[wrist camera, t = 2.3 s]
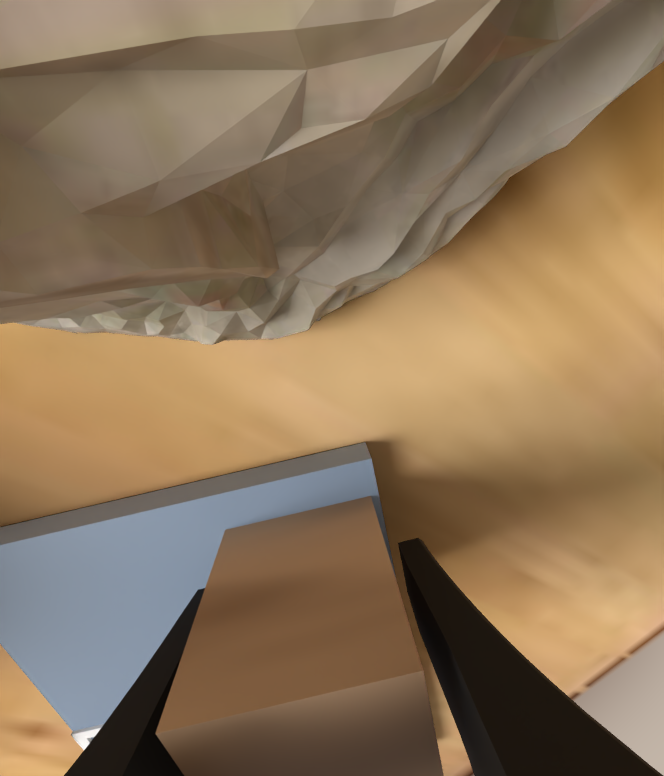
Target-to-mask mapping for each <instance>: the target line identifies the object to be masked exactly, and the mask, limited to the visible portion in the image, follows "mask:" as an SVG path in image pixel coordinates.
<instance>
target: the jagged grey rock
mask: <svg viewBox="0 0 664 776" xmlns="http://www.w3.org/2000/svg"><path fill="white" fill-rule="evenodd" d="M663 61H664V0H0V324H4V323H18V324H23V325H29V326H35V327H42V328H49V329H56V330H64V331H69V332H74V333H76V332H81V333H97V332H109V333H119V334H128V335H137V336H159V337H167V338H174V339H183V340H190V341H199V342H200V343H201V344H212V345H213V344H216V343H218V342H221V341H224V340H254V339H274V338H281V337H284V336H288V335H292V334H295V333H299V332H303V331H306V330H309V328H310V327H311V326H312V324H313V323H314V321H319V320H320V319H321V317H322V316H324V315H326V314H328V313H330V312H332V311H334V310H336V309H338V308H339V307H341V306H342V305H343V304H344V303H346V302H348V301H350V300H352V299H354V298H357V297H360V296H362V295H364V294H367V293H370V292H373V291H375V290H377V289H378V288H380V287H382V286H383V285H385V284H387V283H388V282H390V281H391V280H392V279H396V278H399V277H400V276H402V275H403V274H405V273H406V272H408V271H410V270H411V269H413V268H414V267H416V266H417V265H419V264H420V263H422V262H423V261H425V260H426V259H428V258H429V256H431V255H432V254H433V253H435V252H436V251H438V250H439V249H440V248H442V247H443V246H444V245H446V244H447V243H449V242H450V241H451V239H452V238H453V237H454V236H455V235H456V234H457V233H458V232H459V231H460V230H461V229H462V227H463V226H464V225H465V224H466V223H467V222H468V221H469V220H470V219H471V218H472V217H473V216H474V215H475V214H476V213H477V212H478V211H479V210H480V209H481V208H483V207H484V206H485V205H486V204H487V203H488V202H489V201H490V200H491V199H492V198H493V197H494V196H495V195H496V194H497V193H498V192H499V191H500V189H501V188H502V187H503V186H504V185H505V184H506V182H507V181H508V179H509V177H511V176H513V175H514V174H516V173H517V172H519V171H521V170H522V169H524V168H526V167H527V166H529V165H530V164H532V163H534V162H535V161H537V160H539V159H540V158H542V157H543V156H544V155H546V154H549V153H551V152H554V151H556V150H559V149H561V148H564V147H566V146H567V145H568V144H569V143H570V142H571V141H572V140H573V139H574V138H575V137H576V136H577V135H578V134H579V133H580V132H581V131H582V130H583V129H584V128H585V127H586V126H587V125H588V124H589V123H590V122H591V121H592V120H593V119H594V118H595V117H596V116H597V115H598V114H599V113H600V112H601V111H602V110H603V109H604V108H605V107H606V106H608V105H609V104H610V103H611V102H613V101H614V100H615V99H616V98H618V97H619V96H620V95H621V94H623V93H624V92H625V91H626V90H628V89H629V88H630V87H631V86H633V85H634V84H635V83H636V82H638V81H639V80H640V79H641V78H643V77H644V76H645V75H646V74H648V73H649V72H650V71H652V70H653V69H654V68H655V67H657V66H658V65H659V64H660V63H662V62H663Z"/></svg>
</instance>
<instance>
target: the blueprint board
mask: <svg viewBox="0 0 664 776" xmlns="http://www.w3.org/2000/svg"><path fill="white" fill-rule="evenodd" d="M367 496H371V498H372V502H373V505H374V508H375V512H376V515H377V518H378V522H379V525H380V528H381V532H382V535H383V538H384V542H385V545H386V548H387V551H388V555H389V558H390V561H391V565H392V568H393V571H394V566H393V561H392V556H391V551H390V546H389V541H388V537H387V532H386V527H385V522H384V517H383V512H382V507H381V502H380V497H379V493H378V488H377V483H376V478H375V473H374V468H373V463H372V458H371V456H370V453H369V450H368V448H367V445H366V442H364V443H359V444H355V445H351V446H347V447H342V448H338V449H334V450H329V451H325V452H321V453H317V454H312V455H308V456H304V457H299V458H295V459H291V460H287V461H282V462H278V463H274V464H269V465H265V466H261V467H257V468H252V469H248V470H244V471H240V472H235V473H231V474H227V475H222V476H218V477H214V478H210V479H205V480H201V481H197V482H192V483H188V484H184V485H180V486H175V487H171V488H167V489H162V490H158V491H154V492H150V493H145V494H141V495H137V496H132V497H128V498H124V499H120V500H115V501H111V502H107V503H102V504H98V505H94V506H90V507H85V508H81V509H77V510H72V511H68V512H64V513H60V514H55V515H51V516H47V517H42V518H38V519H34V520H30V521H25V522H21V523H17V524H12V525H8V526H4V527H0V644H1V645H2V647H3V648H4V649H5V650H6V651H7V653H8V654H9V655H10V656H11V657H12V659H13V660H14V661H15V662H16V663H17V665H18V666H19V667H20V668H21V669H22V671H23V672H24V673H25V674H26V675H27V677H28V678H29V679H30V680H31V681H32V683H33V684H34V685H35V686H36V687H37V689H38V690H39V691H40V692H41V694H42V695H43V696H44V697H45V698H46V700H47V701H48V702H49V703H50V704H51V706H52V707H53V708H54V709H55V710H56V712H57V713H58V714H59V715H60V716H61V718H62V719H63V720H64V721H65V722H66V724H67V725H68V726H69V727H70V728H71V730H72V731H73V732H72V734H71V736H72V737H73V738H74V739H75V740H76V742H77V743H78V744H79V745H80V746H81V748H82V749H83V750H85V749H86V747H87V746H88V745H89V744H90V742H91V741H92V740H93V738H94V737H95V736H96V734H97V733H98V732H99V730H100V729H101V728H102V726H103V725H104V724H105V722H106V721H107V719H108V718H109V717H110V715H111V714H112V713H113V711H114V710H115V709H116V707H117V706H118V704H119V703H120V702H121V700H122V699H123V698H124V696H125V695H126V693H127V692H128V691H129V689H130V688H131V687H132V685H133V684H134V682H135V681H136V680H137V678H138V677H139V675H140V674H141V672H142V671H143V670H144V668H145V667H146V665H147V664H148V662H149V661H150V659H151V658H152V657H153V655H154V654H155V652H156V651H157V649H158V648H159V646H160V645H161V643H162V642H163V640H164V639H165V637H166V636H167V634H168V633H169V632H170V630H171V629H172V627H173V626H174V624H175V623H176V621H177V620H178V618H179V617H180V615H181V614H182V612H183V611H184V609H185V608H186V606H187V605H188V603H189V602H190V600H191V599H192V597H193V596H194V595H195V593H196V592H197V590H199V589H203V588H205V587H206V584H207V581H208V578H209V575H210V573H211V570H212V567H213V564H214V561H215V558H216V555H217V552H218V549H219V546H220V543H221V540H222V537H223V535H224V532H225V530H226V529H231V528H235V527H239V526H243V525H248V524H252V523H256V522H260V521H265V520H269V519H273V518H278V517H282V516H286V515H290V514H295V513H299V512H303V511H308V510H312V509H316V508H320V507H325V506H329V505H333V504H337V503H342V502H346V501H350V500H355V499H359V498H363V497H367ZM394 575H395V571H394ZM395 578H396V576H395Z"/></svg>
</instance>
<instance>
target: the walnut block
mask: <svg viewBox="0 0 664 776" xmlns="http://www.w3.org/2000/svg"><path fill="white" fill-rule="evenodd" d="M155 734H156V735H157V737H158V738H159V740H160V741H161V743H162V744H163V745H164V747H165V748H166V750H167V751H168V753H169V754H170V756H171V757H172V759H173V760H174V761H175V763H176V764H177V766H178V767H179V769H180V770H181V772H182V773H183V774H184V776H443V770H442V765H441V760H440V755H439V749H438V744H437V739H436V734H435V729H434V723H433V718H432V713H431V708H430V702H429V697H428V692H427V687H426V681H425V676H424V671H423V667H422V664H421V661H420V658H419V654H418V651H417V648H416V644H415V641H414V638H413V634H412V631H411V628H410V624H409V621H408V618H407V614H406V611H405V608H404V604H403V601H402V598H401V595H400V591H399V588H398V585H397V581H396V578H395V575H394V571H393V568H392V565H391V561H390V558H389V555H388V551H387V548H386V545H385V542H384V538H383V535H382V532H381V528H380V525H379V522H378V518H377V515H376V512H375V508H374V505H373V502H372V498H371V496H367V497H363V498H359V499H355V500H350V501H346V502H342V503H337V504H333V505H329V506H325V507H320V508H316V509H312V510H308V511H303V512H299V513H295V514H290V515H286V516H282V517H278V518H273V519H269V520H265V521H260V522H256V523H252V524H248V525H243V526H239V527H235V528H231V529H226V530H225V532H224V535H223V537H222V540H221V543H220V546H219V549H218V552H217V555H216V558H215V561H214V564H213V567H212V570H211V573H210V575H209V578H208V581H207V584H206V587H205V590H204V593H203V596H202V599H201V602H200V605H199V608H198V611H197V613H196V616H195V619H194V622H193V625H192V628H191V631H190V634H189V637H188V640H187V643H186V646H185V649H184V651H183V654H182V657H181V660H180V663H179V666H178V669H177V672H176V675H175V678H174V681H173V684H172V687H171V689H170V692H169V695H168V698H167V701H166V704H165V707H164V710H163V713H162V716H161V719H160V722H159V725H158V727H157V730H156V733H155Z"/></svg>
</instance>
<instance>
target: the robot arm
mask: <svg viewBox="0 0 664 776" xmlns="http://www.w3.org/2000/svg"><path fill="white" fill-rule="evenodd" d="M398 545H399V550H400V555H401V560H402V566H403V571H404V576H405V581H406V586H407V592H408V595H409V598H410V602H411V605H412V608H413V612H414V615H415V618H416V621H417V625H418V628H419V631H420V634H421V636H422V639H423V642H424V644H425V647H426V649H427V652H428V654H429V657H430V659H431V662H432V664H433V667H434V669H435V672H436V675H437V677H438V680H439V682H440V685H441V687H442V690H443V692H444V695H445V697H446V700H447V702H448V705H449V707H450V710H451V713H452V715H453V718H454V720H455V723H456V725H457V728H458V730H459V733H460V735H461V738H462V741H463V744H464V746H465V749H466V752H467V755H468V757H469V760H470V763H471V766H472V769H473V772H474V775H475V776H663V775H662V774H660V773H659V772H658V771H657V770H655V769H654V768H653V767H651V766H650V765H649V764H648V763H647V762H645V761H644V760H643V759H642V758H641V757H639V756H638V755H637V754H636V753H635V752H633V751H632V750H631V749H630V748H629V747H627V746H626V745H625V744H624V743H623V742H621V741H620V740H619V739H617V738H616V737H615V736H614V735H613V734H611V733H610V732H609V731H608V730H607V729H606V728H604V727H603V726H602V725H601V724H599V723H598V722H597V721H596V720H594V718H592V717H591V716H590V715H588V714H587V713H586V712H585V711H584V710H583V709H582V708H580V707H579V706H578V705H577V704H576V703H575V702H574V701H573V700H571V699H570V698H569V697H568V696H567V695H566V694H565V693H564V692H562V691H561V690H560V689H559V688H558V687H557V686H556V685H555V684H553V683H552V682H551V681H550V680H549V679H548V678H547V677H546V676H545V675H544V674H543V673H541V672H540V671H539V670H538V669H537V668H536V667H535V666H534V665H533V664H532V663H531V662H530V661H529V660H527V659H526V658H525V657H524V656H523V655H522V654H521V653H520V652H519V651H518V650H517V649H516V648H515V647H514V646H513V645H512V644H511V643H510V642H509V641H508V640H507V639H506V638H505V637H504V636H503V635H502V634H501V633H500V632H499V631H498V630H497V629H496V628H495V627H494V626H493V625H492V624H491V623H490V622H489V621H488V620H487V619H486V617H485V616H484V615H483V614H482V613H481V612H480V611H479V610H478V609H477V608H476V607H475V606H474V604H473V603H472V602H471V601H470V600H469V599H468V598H467V597H466V596H465V594H464V593H463V592H462V591H461V590H460V589H459V588H458V587H457V585H456V584H455V583H454V582H453V581H452V579H451V578H450V577H449V576H448V575H447V573H446V572H445V571H444V570H443V568H442V567H441V566H440V565H439V563H438V562H437V561H436V560H435V558H434V557H433V556H432V554H431V553H430V552H429V550H428V549H427V547H426V546H425V544H424V543H423V541H422V540H420V539H419V538H416V539H412V540H408V541H404V542H399V543H398ZM204 590H205V588H203V589H199V590H197V592H196V593H195V595H194V596H193V597H192V599H191V600H190V602H189V603H188V605H187V606H186V608H185V609H184V611H183V612H182V614H181V615H180V617H179V618H178V620H177V621H176V623H175V624H174V626H173V627H172V629H171V630H170V632H169V633H168V634H167V636H166V637H165V639H164V640H163V642H162V643H161V645H160V646H159V648H158V649H157V651H156V652H155V654H154V655H153V657H152V658H151V659H150V661H149V662H148V664H147V665H146V667H145V668H144V670H143V671H142V672H141V674H140V675H139V677H138V678H137V680H136V681H135V682H134V684H133V685H132V687H131V688H130V689H129V691H128V692H127V693H126V695H125V696H124V698H123V699H122V700H121V702H120V703H119V704H118V706H117V707H116V709H115V710H114V711H113V713H112V714H111V715H110V717H109V718H108V719H107V721H106V722H105V724H104V725H103V726H102V728H101V729H100V730H99V732H98V733H97V734H96V736H95V737H94V738H93V740H92V741H91V742H90V744H89V745H88V746H87V747H86V749H85V750H84V751H83V752H82V754H81V755H80V756H79V758H78V759H77V760H76V761H75V763H74V764H73V765H72V766H71V768H70V769H69V770H68V771H67V773H66V774H65V775H64V776H184V774H183V773H182V772H181V770H180V769H179V767H178V766H177V764H176V763H175V761H174V760H173V759H172V757H171V756H170V754H169V753H168V751H167V750H166V748H165V747H164V745H163V744H162V743H161V741H160V740H159V738H158V737H157V735H156V734H155V733H156V730H157V727H158V725H159V722H160V719H161V716H162V713H163V710H164V707H165V704H166V701H167V698H168V695H169V692H170V689H171V687H172V684H173V681H174V678H175V675H176V672H177V669H178V666H179V663H180V660H181V657H182V654H183V651H184V649H185V646H186V643H187V640H188V637H189V634H190V631H191V628H192V625H193V622H194V619H195V616H196V613H197V611H198V608H199V605H200V602H201V599H202V596H203V593H204Z"/></svg>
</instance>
